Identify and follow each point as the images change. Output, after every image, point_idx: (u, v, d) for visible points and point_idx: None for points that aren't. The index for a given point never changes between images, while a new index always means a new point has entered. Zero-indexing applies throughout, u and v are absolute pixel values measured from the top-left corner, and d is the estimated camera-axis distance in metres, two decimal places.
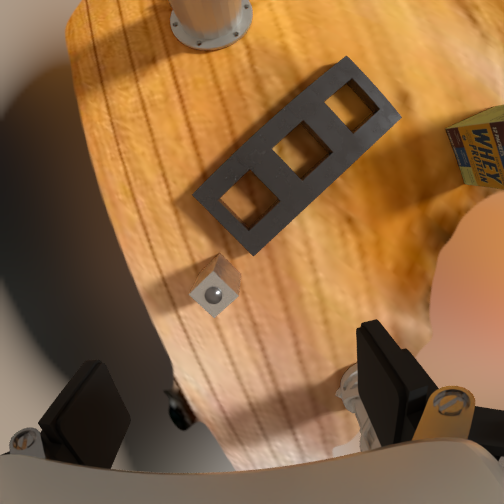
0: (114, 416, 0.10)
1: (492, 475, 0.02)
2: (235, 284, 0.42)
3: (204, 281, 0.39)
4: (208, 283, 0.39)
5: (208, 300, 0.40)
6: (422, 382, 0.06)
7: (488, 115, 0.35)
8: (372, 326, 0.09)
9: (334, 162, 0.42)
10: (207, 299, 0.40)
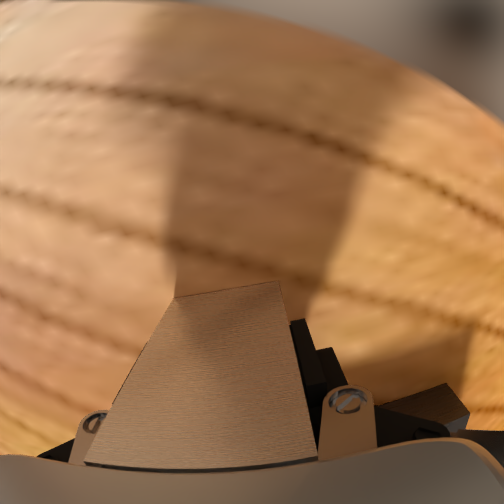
0: None
1: (492, 475, 0.02)
2: None
3: None
4: None
5: None
6: (321, 379, 0.07)
7: None
8: (297, 324, 0.10)
9: None
10: None
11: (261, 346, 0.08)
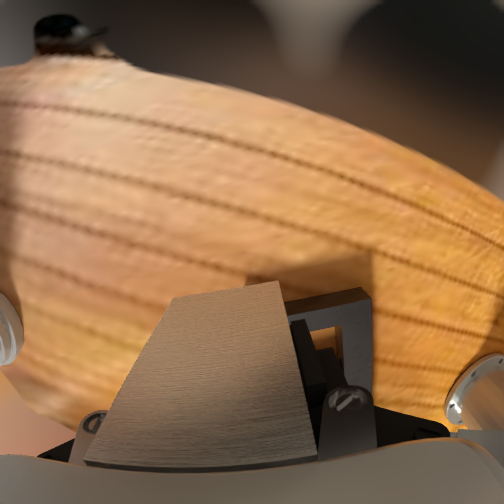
0: None
1: (492, 475, 0.02)
2: None
3: None
4: None
5: None
6: (321, 379, 0.07)
7: None
8: (297, 324, 0.10)
9: None
10: None
11: (261, 345, 0.08)
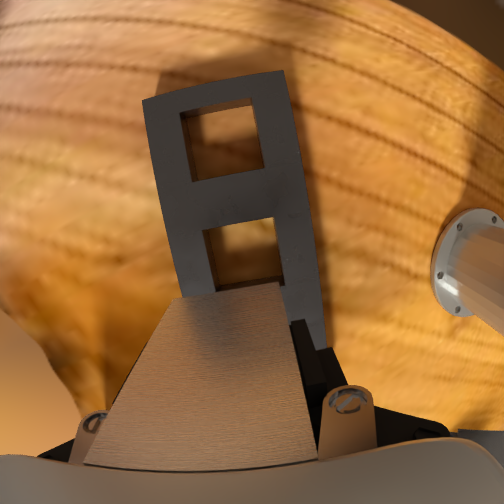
0: None
1: (492, 475, 0.02)
2: None
3: None
4: None
5: None
6: (321, 378, 0.07)
7: None
8: (297, 324, 0.10)
9: (201, 289, 0.27)
10: None
11: (261, 347, 0.08)
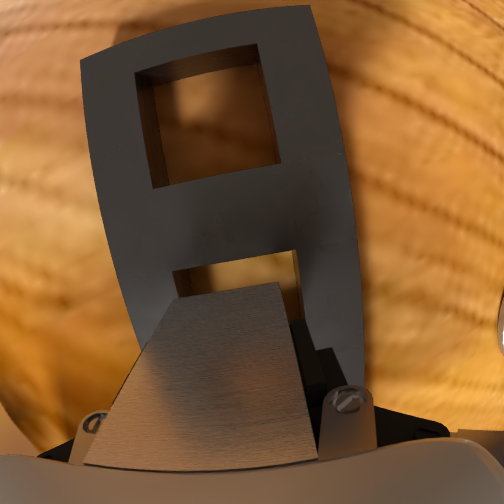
0: None
1: (492, 475, 0.02)
2: None
3: None
4: None
5: None
6: (321, 379, 0.07)
7: None
8: (297, 324, 0.10)
9: None
10: None
11: (261, 347, 0.08)
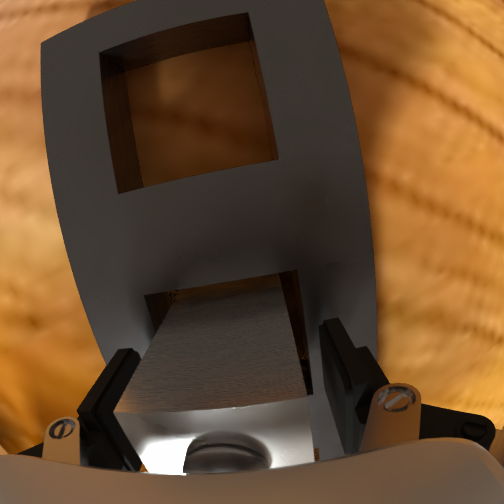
0: None
1: (492, 475, 0.02)
2: None
3: None
4: None
5: (215, 456, 0.06)
6: (368, 378, 0.07)
7: None
8: (332, 323, 0.10)
9: None
10: (224, 457, 0.06)
11: (262, 320, 0.10)
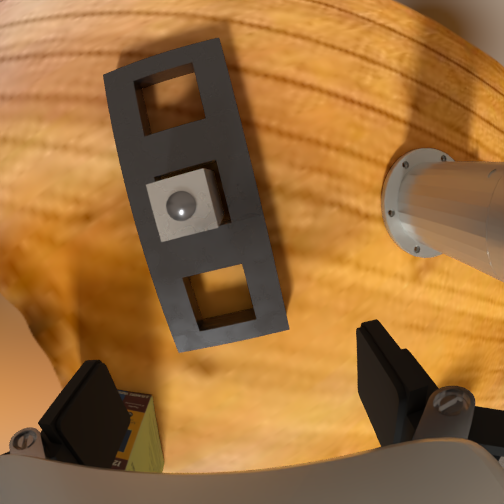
0: (114, 416, 0.10)
1: (492, 475, 0.02)
2: None
3: (209, 205, 0.23)
4: (204, 209, 0.23)
5: (177, 193, 0.23)
6: (422, 382, 0.06)
7: (146, 457, 0.32)
8: (372, 326, 0.09)
9: (156, 231, 0.29)
10: (180, 194, 0.23)
11: None
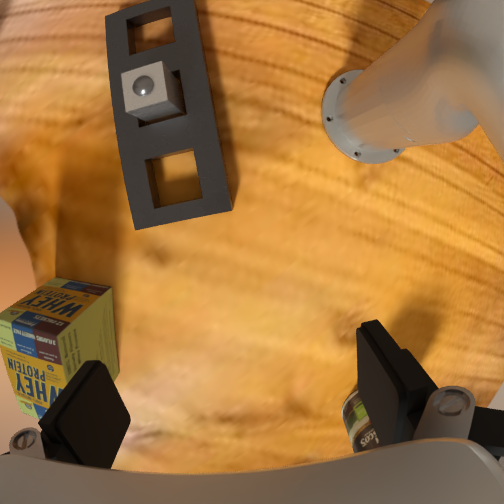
0: (114, 416, 0.10)
1: (492, 475, 0.02)
2: (141, 114, 0.30)
3: (163, 84, 0.27)
4: (158, 87, 0.27)
5: (141, 77, 0.27)
6: (422, 382, 0.06)
7: (95, 342, 0.36)
8: (372, 326, 0.09)
9: (128, 123, 0.34)
10: (143, 77, 0.27)
11: None
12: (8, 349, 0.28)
